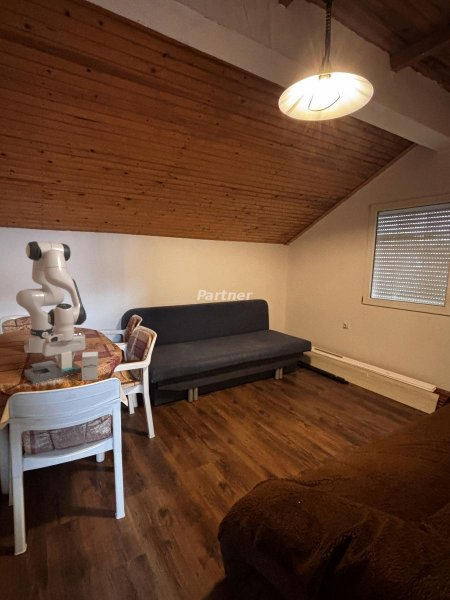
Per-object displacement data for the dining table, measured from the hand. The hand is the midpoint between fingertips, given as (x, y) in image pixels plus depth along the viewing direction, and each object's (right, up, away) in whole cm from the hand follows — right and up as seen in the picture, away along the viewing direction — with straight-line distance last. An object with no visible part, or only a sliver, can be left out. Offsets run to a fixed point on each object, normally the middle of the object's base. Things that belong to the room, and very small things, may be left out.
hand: (65, 361), depth 155 cm
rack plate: (-4, -6, -3) cm, 8 cm away
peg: (0, -4, 0) cm, 4 cm away
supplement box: (+15, -8, -4) cm, 17 cm away
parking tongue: (-14, -4, +6) cm, 16 cm away
